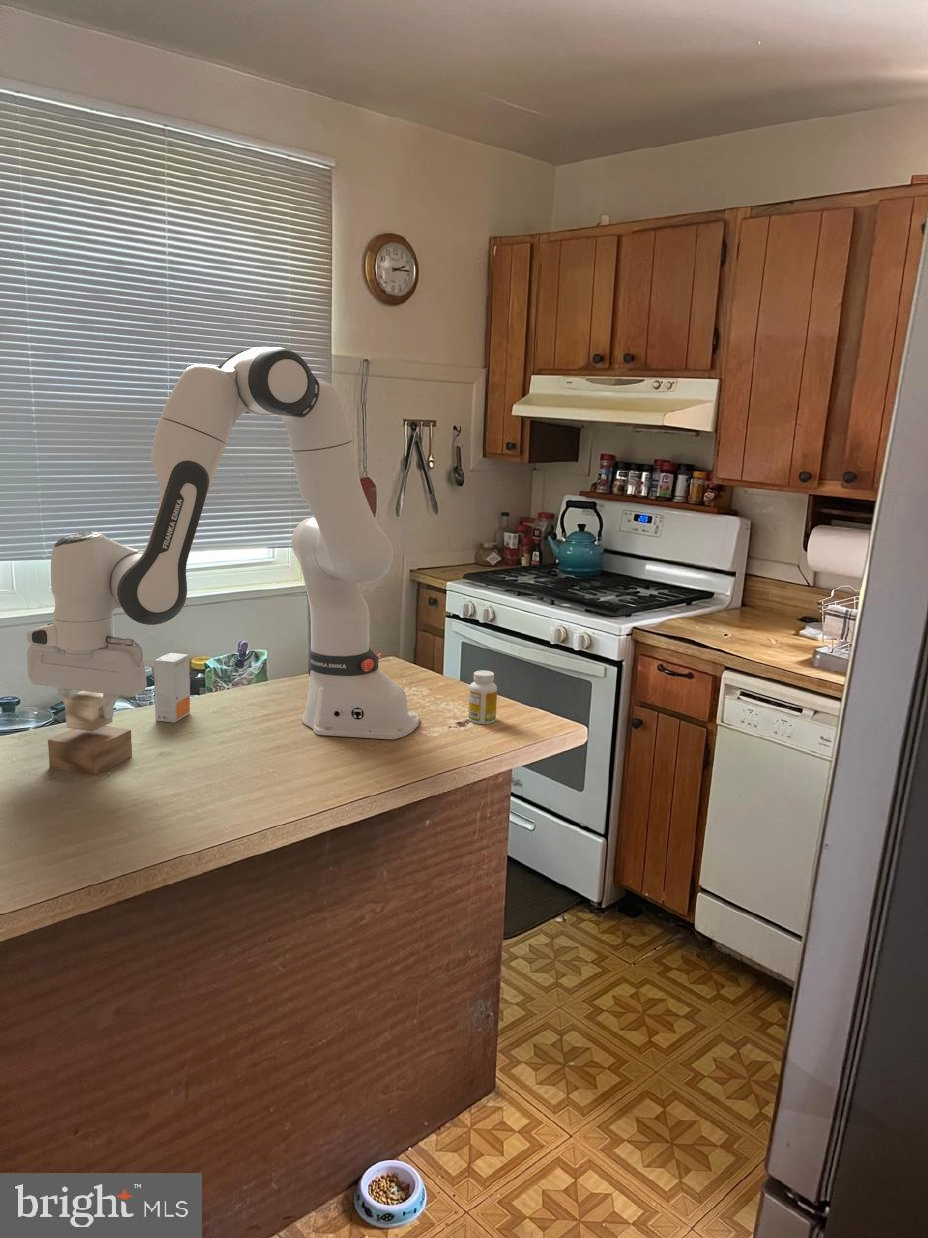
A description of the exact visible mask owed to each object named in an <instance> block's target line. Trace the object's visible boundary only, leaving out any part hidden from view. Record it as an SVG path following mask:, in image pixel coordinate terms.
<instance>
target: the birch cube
mask: <svg viewBox="0 0 928 1238" xmlns="http://www.w3.org/2000/svg"><path fill="white" fill-rule="evenodd" d="M106 700H107V699H106ZM106 700H105V699H103V693H97V692H89V691H81V690H80V691H78V692H76V693H73V694H72V696H69V697H67V698H65V704H64V711H65V726H66V727H65V728H67V729H79V730H86V731H95V730H97V729H99V728H101V727H103V726H108V725H109V724H111V723H113V720H114V719H113V717H111V718H109V719H104V718H100V717H99V714H100V713H99V708H101V707H103V706H104V705H105V703H106Z"/></svg>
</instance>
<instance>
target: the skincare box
mask: <svg viewBox="0 0 928 1238" xmlns="http://www.w3.org/2000/svg"><path fill="white" fill-rule="evenodd" d="M153 677H154V682H153V683H154V710H155V711H154V712H155V713H154V716H155V721H156V722H164V723H165V722H166V723H176V722H178V721H180V720H181V719H183V718H185V717H187V716H188V715H191V689H190V686H191V685H190V683H191V682H190V678H191V677H190V655H189V654H185V653H177V652H169V653H166V654H164V655H162V656H159V658H157V659H154V660H153Z"/></svg>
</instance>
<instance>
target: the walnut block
mask: <svg viewBox="0 0 928 1238" xmlns="http://www.w3.org/2000/svg"><path fill="white" fill-rule="evenodd" d="M47 748H48V749H47V751H48V762H49V763H48V764H49V768H51V767H52V769H58V770H63V771H68V772H75V773H80V774H86V775H90V776H96V777H97V775H99V774H101V773H103V772H106V771H107V770H110V769H111V768H114V767H115V766H117V765H118V764H120V763H122V762H125V761H126V760H129V758H131V757H132V758H133V750H132V749H133V747H132V730H131V729H128V728H122V727H115V726H110V725H105V726H103V727H101V728H99V729H97V730H95V731H86V730H79V729H72V728H70V729H69V730H66V731H64V732H62V733H59V734H58V735H55V736H53V737H51V738H49V739H47Z"/></svg>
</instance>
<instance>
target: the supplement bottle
mask: <svg viewBox="0 0 928 1238" xmlns="http://www.w3.org/2000/svg"><path fill="white" fill-rule="evenodd" d="M473 680H474V681H473V682H471V683H470V685H469V693H468V694H469V699H468V720H469V721H470V722H471V723H473V724H475V725H476V724H477V725H489V724H493V723H495V721H496V719H497V702H498V701H497V699H498V686H497V684H496V683H495V682H494V681H495V673H494V672H493V671H490V670H476V671H474V672H473Z"/></svg>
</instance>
